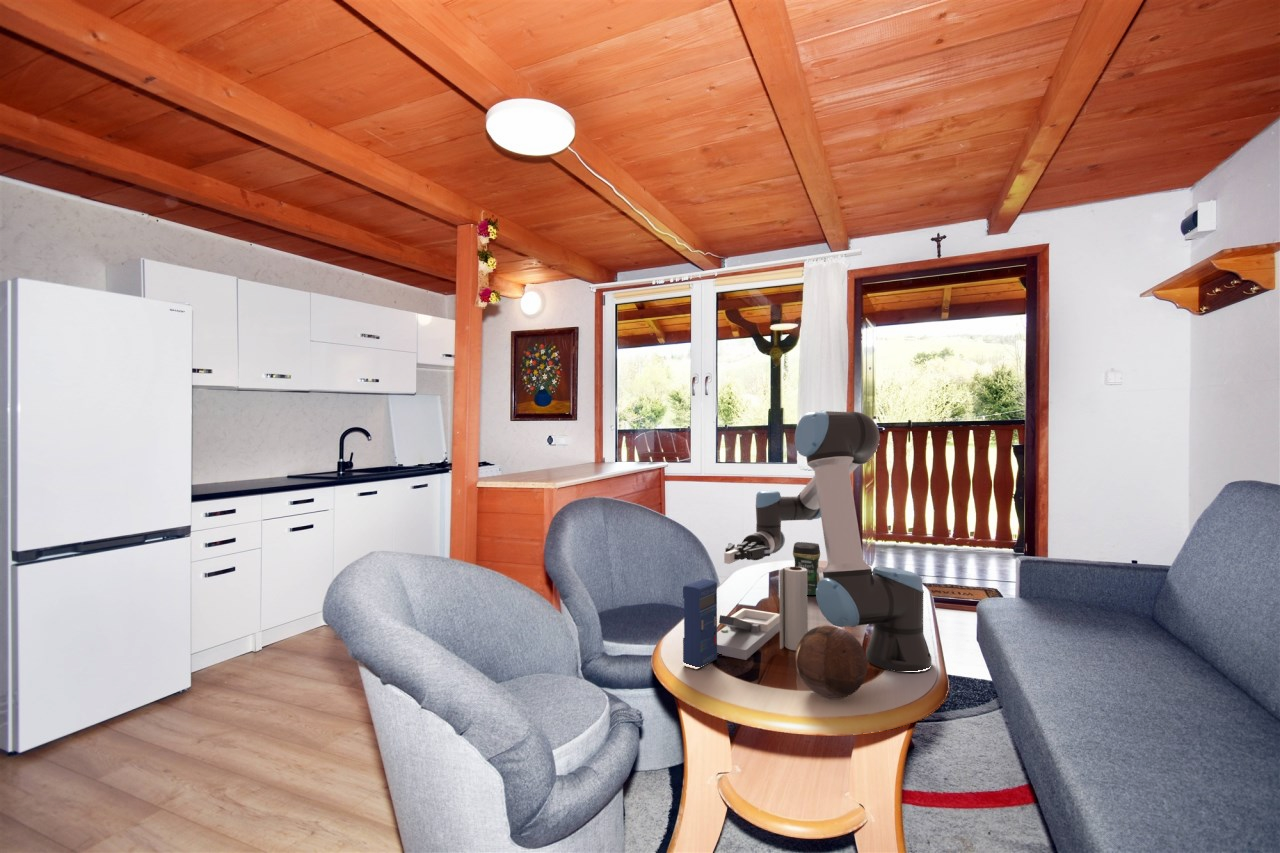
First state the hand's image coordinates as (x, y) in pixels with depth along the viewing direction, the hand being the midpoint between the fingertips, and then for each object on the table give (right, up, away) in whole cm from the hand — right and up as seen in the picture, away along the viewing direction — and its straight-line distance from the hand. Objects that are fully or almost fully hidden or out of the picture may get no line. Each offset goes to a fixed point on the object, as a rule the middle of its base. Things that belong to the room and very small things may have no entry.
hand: (727, 558), depth 158 cm
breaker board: (+7, -25, +10) cm, 28 cm away
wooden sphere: (+19, -24, -27) cm, 41 cm away
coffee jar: (+38, -26, +59) cm, 75 cm away
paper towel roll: (+19, -25, +3) cm, 31 cm away
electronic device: (-8, -25, -8) cm, 27 cm away
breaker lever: (+7, -21, +10) cm, 25 cm away
